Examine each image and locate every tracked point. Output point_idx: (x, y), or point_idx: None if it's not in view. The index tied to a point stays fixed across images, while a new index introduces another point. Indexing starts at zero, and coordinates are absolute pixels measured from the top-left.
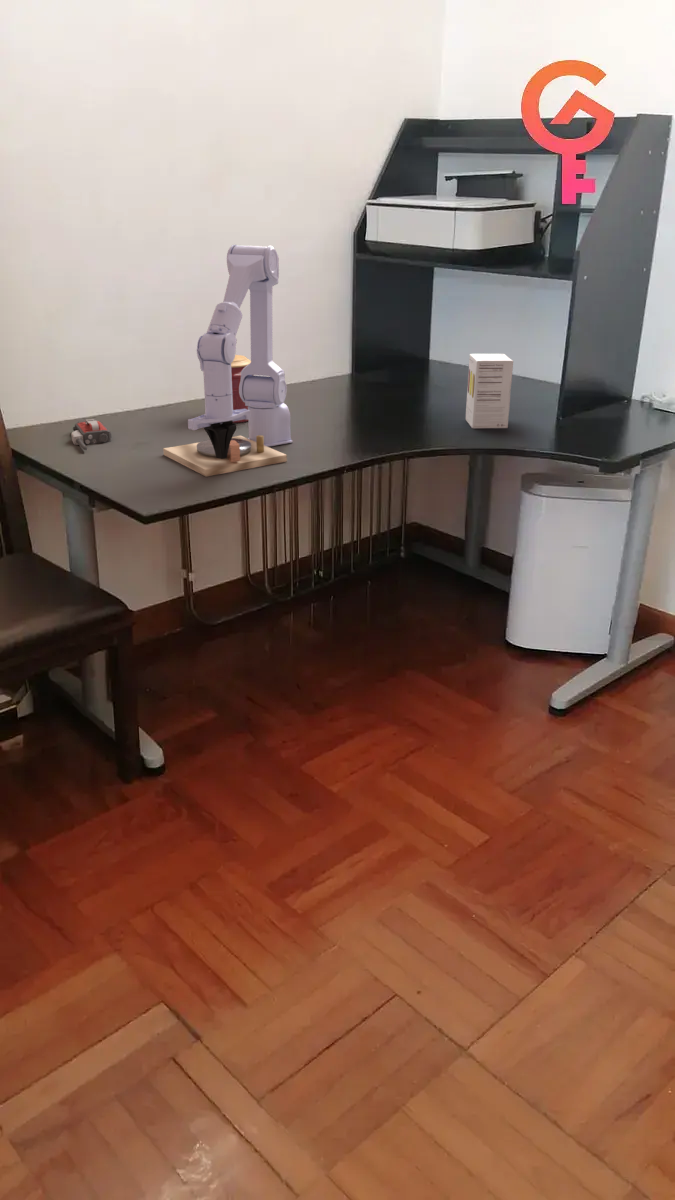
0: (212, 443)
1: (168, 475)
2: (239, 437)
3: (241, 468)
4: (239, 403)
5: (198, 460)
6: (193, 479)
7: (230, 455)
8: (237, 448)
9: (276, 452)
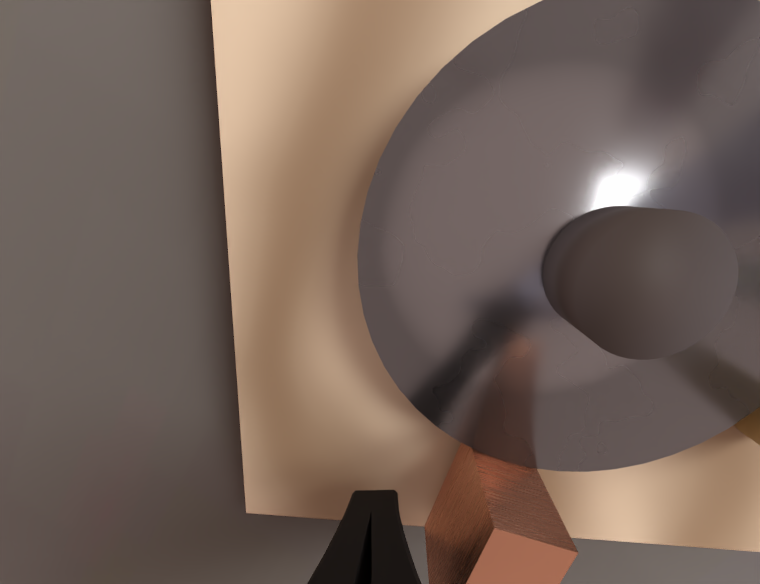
0: (312, 581)
1: (96, 352)
2: None
3: None
4: None
5: (296, 339)
6: (189, 478)
7: (431, 552)
8: None
9: None
